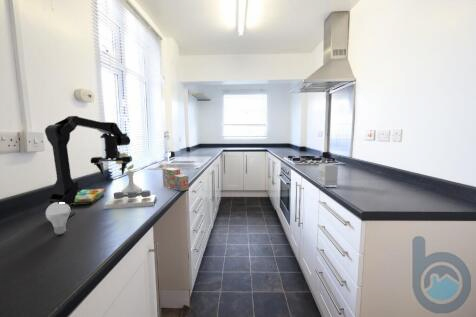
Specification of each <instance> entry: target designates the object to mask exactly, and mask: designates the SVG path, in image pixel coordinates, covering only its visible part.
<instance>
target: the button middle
mask: <svg viewBox="0 0 476 317" xmlns="http://www.w3.org/2000/svg"><path fill="white" fill-rule="evenodd" d="M137 196H138V194H137V191H130V192H128V195H127V197H128V198H135V197H137Z"/></svg>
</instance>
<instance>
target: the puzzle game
mask: <svg viewBox="0 0 476 317" xmlns="http://www.w3.org/2000/svg"><path fill="white" fill-rule="evenodd" d="M106 191H107V190H106V188H93V189H92V188H91V189H81V190H80V191H78V194H77V195H76V197H75V201H74V203H70V204H71V205H72V204H73V205H86V204H88V205H89V204H94V203H95V202H96V201H97V200H98V199H100V198H101V197H103V196H104V195H105V194H106Z"/></svg>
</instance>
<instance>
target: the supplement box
mask: <svg viewBox="0 0 476 317" xmlns="http://www.w3.org/2000/svg"><path fill="white" fill-rule="evenodd" d="M338 169H339V165H338V164H335V163H318V183H320V184H322V185H337V186H338V171H339V170H338Z"/></svg>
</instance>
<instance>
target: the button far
mask: <svg viewBox="0 0 476 317" xmlns="http://www.w3.org/2000/svg"><path fill="white" fill-rule="evenodd" d="M150 195H151V190H142V191H141V192H140V196H141V197H149V196H150Z"/></svg>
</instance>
